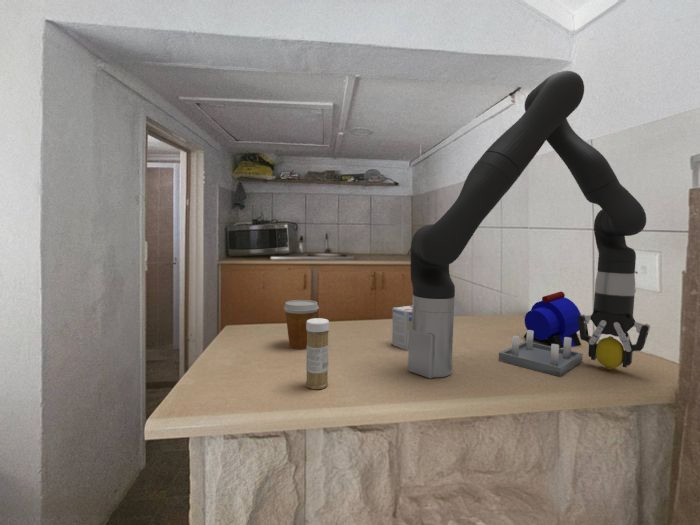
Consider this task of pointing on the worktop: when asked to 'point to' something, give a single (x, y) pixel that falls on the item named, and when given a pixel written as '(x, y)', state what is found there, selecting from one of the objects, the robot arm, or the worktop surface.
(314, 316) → the disposable coffee cup
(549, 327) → the alarm clock
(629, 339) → the robot arm
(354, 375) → the worktop surface
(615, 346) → the lemon
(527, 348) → the tray
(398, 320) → the light bulb box
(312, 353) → the sprinkles bottle
